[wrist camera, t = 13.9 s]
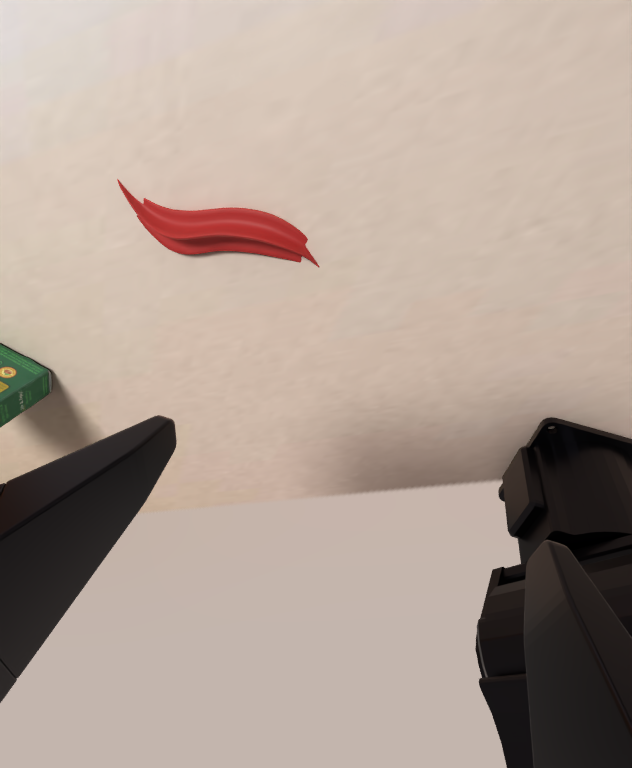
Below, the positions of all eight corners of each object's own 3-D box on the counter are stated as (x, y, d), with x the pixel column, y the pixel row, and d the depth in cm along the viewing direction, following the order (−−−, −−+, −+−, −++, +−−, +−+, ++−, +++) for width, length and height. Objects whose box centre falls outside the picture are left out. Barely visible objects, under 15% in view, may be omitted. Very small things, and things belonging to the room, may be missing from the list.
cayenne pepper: (114, 210, 23) (89, 218, 21) (123, 121, 20) (96, 123, 18) (302, 319, 23) (290, 335, 22) (338, 247, 20) (328, 259, 19)
